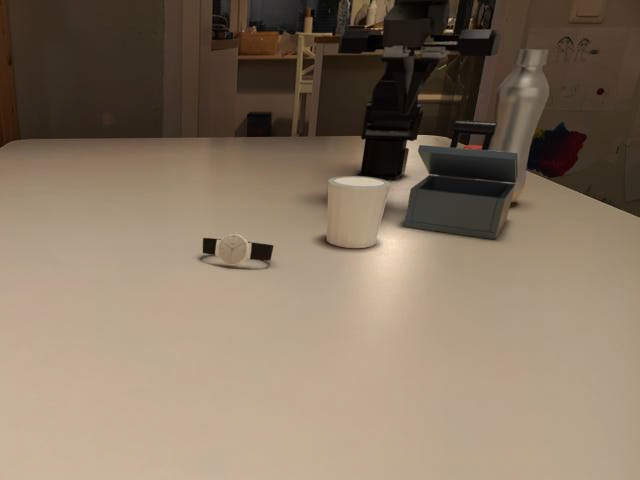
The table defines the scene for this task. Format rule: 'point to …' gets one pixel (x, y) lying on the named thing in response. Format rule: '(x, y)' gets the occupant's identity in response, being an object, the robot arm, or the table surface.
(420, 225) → the grey box
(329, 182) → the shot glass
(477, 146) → the button
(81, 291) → the table surface
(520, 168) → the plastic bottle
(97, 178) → the table surface
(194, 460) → the table surface
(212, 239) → the watch
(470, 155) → the box lid
